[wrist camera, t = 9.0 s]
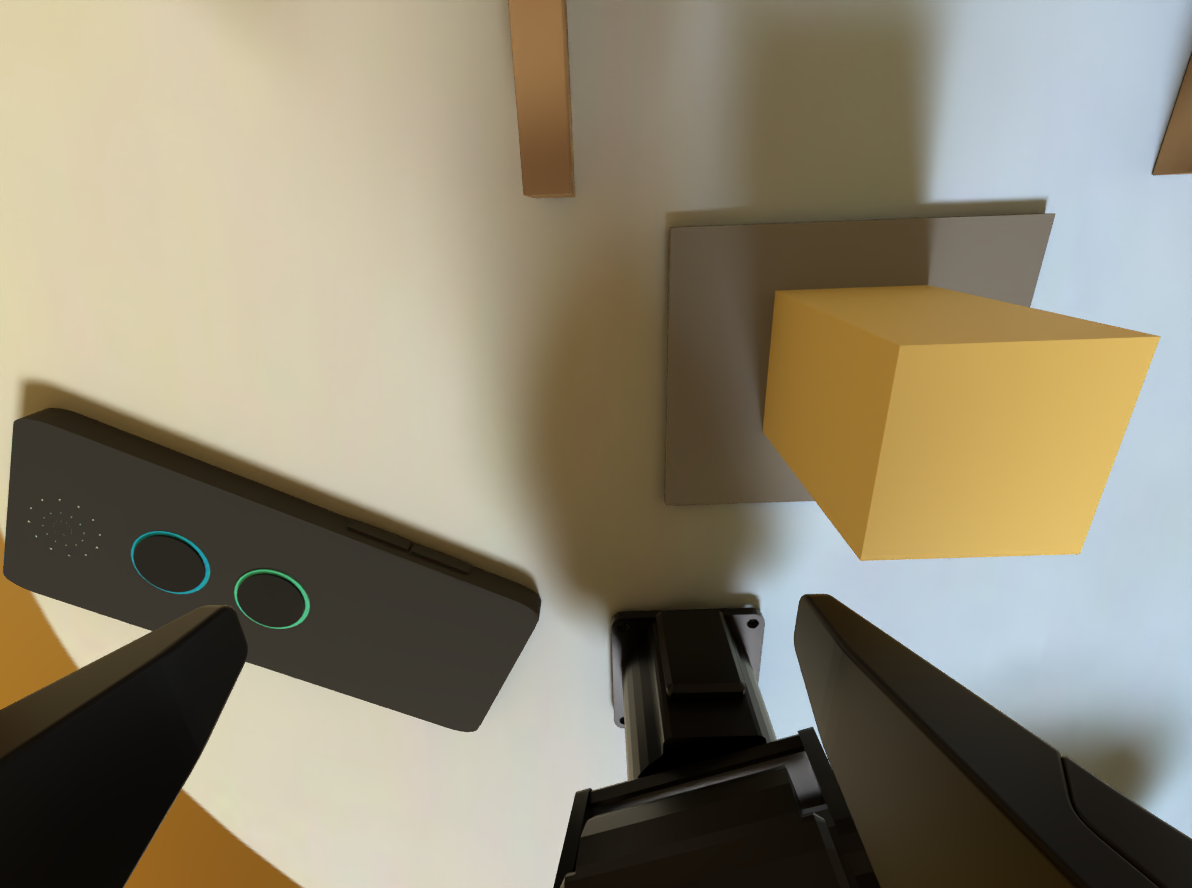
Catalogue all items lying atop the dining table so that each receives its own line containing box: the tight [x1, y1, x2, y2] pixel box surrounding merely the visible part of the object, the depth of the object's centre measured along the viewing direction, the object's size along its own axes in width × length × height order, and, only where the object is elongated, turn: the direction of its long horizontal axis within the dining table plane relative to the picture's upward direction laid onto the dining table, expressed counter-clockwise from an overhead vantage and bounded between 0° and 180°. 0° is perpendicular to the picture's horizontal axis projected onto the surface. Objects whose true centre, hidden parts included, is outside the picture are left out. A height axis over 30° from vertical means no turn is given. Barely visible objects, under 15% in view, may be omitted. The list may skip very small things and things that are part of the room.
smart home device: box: [3, 408, 541, 732], centre depth 23 cm, size 8×2×20 cm
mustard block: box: [763, 285, 1160, 561], centre depth 15 cm, size 5×5×8 cm
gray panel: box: [665, 214, 1055, 505], centre depth 19 cm, size 10×12×1 cm
